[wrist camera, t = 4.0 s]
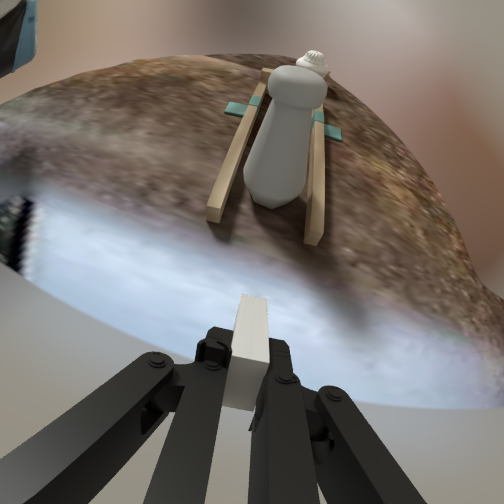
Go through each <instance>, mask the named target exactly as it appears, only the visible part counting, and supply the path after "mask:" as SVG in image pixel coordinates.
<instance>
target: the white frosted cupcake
mask: <svg viewBox="0 0 504 504" xmlns="http://www.w3.org/2000/svg"><path fill="white" fill-rule="evenodd" d="M296 65H297V66H298V67H302V68H306V69H308V70H311V71H313V72H315V73H317V74H319V75H320V76H322V78H324V77H325V76H326V74H327V73H328V72H329V69H328V66H327V65H326V63H325V57H324V55H323V54H322V53H320V52H318V51H308V52H307V53H306V55H305V56H303V57H302V58H300V59H298V60H297V61H296Z"/></svg>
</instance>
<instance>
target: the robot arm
mask: <svg viewBox="0 0 504 504" xmlns="http://www.w3.org/2000/svg"><path fill="white" fill-rule="evenodd" d="M36 50H37V0H0V78H2V77H4V76H5V75H7V74H9V73H13V72H14V71H15V70H16V69H18V68H20V67H21V66H23V65H25V64H27V63H29V62H30V61H31V60H32V59H33V58H34V56H35V54H36ZM255 405H256V408H255V414H254V417H253V420H252V423H251V425H250V428H249V430H248V431H251V430H252V437H251V455H250V456H251V457H250V472H249V490H248V504H320V500H319V494H318V486H317V483H318V485H319V487H320V489H321V491H322V493H323V496H324V497H325V500H326V502H327V504H427V503H426V502H425V501H424V499H423V498H422V497H421V495H420V494H419V492H418V491H417V489H416V488H415V487H414V485H413V484H412V483H411V481H410V480H409V478H408V477H407V476H406V474H405V473H404V472H403V470H402V469H401V467H400V466H399V465H398V463H397V462H396V461H395V459H394V458H393V456H392V455H391V454H390V452H389V451H388V449H387V448H386V447H385V445H384V444H383V443H382V441H381V440H380V439H379V437H378V436H377V434H376V433H375V432H374V430H373V429H372V427H371V426H370V425H369V424H368V422H367V420H366V419H365V418H364V416H363V415H362V413H361V412H360V411H359V409H358V408H357V406H356V405H355V404H354V402H353V401H352V399H351V398H350V397H349V395H348V394H347V393H346V392H345V391H344V390H342V389H340V388H338V387H335V386H328V385H327V386H323V387H321V388H320V389H319V391H318V392H316V391H313V390H310V389H308V388H305V387H303V386H302V385H301V383H300V380H299V378H298V377H297V376H296V375H295V374H294V373H293V368H292V362H291V355H290V349H289V346H288V345H287V343H286V342H285V341H284V340H279V339H273V338H269V336H268V313H267V299H264V298H259V297H254V296H250V295H246V294H242V295H241V299H240V303H239V308H238V312H237V316H236V321H235V325H234V329H233V331H232V330H227V329H223V328H219V327H215V326H214V327H213V328H211V329H210V330H208V333H207V335H206V338H205V339H203V340H200V341H199V342H198V344H197V350H196V356H195V361H194V362H193V363H190V364H174V361H173V360H172V359H171V358H170V357H169V356H168V355H166V354H163V353H160V352H147V353H145V354H143V355H141V356H140V357H138V358H137V359H136V360H135V361H133V362H132V363H131V364H129V365H128V366H127V367H125V368H124V369H123V370H121V371H120V372H119V373H117V374H116V375H115V376H113V377H112V378H111V379H109V380H108V381H107V382H106V383H104V384H103V385H101V386H100V387H99V388H98V389H96V390H95V391H93V392H92V393H91V394H89V395H88V396H87V397H85V398H84V399H83V400H81V401H80V402H79V403H77V404H76V405H75V406H73V407H72V408H71V409H69V410H68V411H66V412H65V413H64V414H62V415H61V416H60V417H58V418H57V419H56V420H54V421H53V422H52V423H50V424H49V425H47V426H46V427H45V428H43V429H42V430H41V431H39V432H38V433H36V434H35V435H34V436H33V437H31V438H30V439H28V440H27V441H25V442H24V443H22V444H21V445H20V446H18V447H17V448H16V449H14V450H13V451H12V452H10V453H8V454H7V455H6V456H4V457H3V458H1V459H0V504H88V503H89V502H90V501H91V500H92V499H93V498H94V497H95V496H96V495H97V494H98V493H99V492H100V491H101V490H102V489H103V487H104V486H105V485H106V484H107V483H108V482H109V481H110V480H111V479H112V478H113V477H114V476H115V475H116V474H117V472H118V471H119V470H120V469H121V468H122V467H123V466H124V465H125V464H126V463H127V461H128V460H129V459H130V458H131V457H132V456H133V455H134V454H135V453H136V451H137V450H138V449H139V448H140V447H141V446H142V445H143V444H144V442H145V441H146V440H147V439H148V438H149V437H150V435H151V434H152V433H153V432H154V431H155V430H156V429H157V427H158V426H159V425H160V424H161V423H162V422H163V420H164V419H165V418H166V417H167V416H168V414H169V412H175V415H174V418H173V421H172V423H171V426H170V429H169V431H168V434H167V437H166V440H165V443H164V445H163V448H162V451H161V454H160V456H159V459H158V462H157V465H156V468H155V470H154V473H153V476H152V479H151V482H150V485H149V488H148V490H147V493H146V496H145V499H144V502H143V504H204V502H205V496H206V491H207V485H208V480H209V474H210V468H211V463H212V457H213V452H214V446H215V441H216V435H217V429H218V424H219V418H220V412H221V407H222V406H226V407H231V408H237V409H242V410H247V411H253V410H254V407H255Z"/></svg>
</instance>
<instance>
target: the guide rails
mask: <svg viewBox="0 0 504 504" xmlns="http://www.w3.org/2000/svg"><path fill="white" fill-rule="evenodd" d="M272 71H274V70H272V69H267V68H263V69H262V72H261V77H260V82H259V84H258V86H257V88H256V90H255V92H254V95H253V96H252V98H251V100H250V102H249V104H248V105H244V104H239V103H233V102H230V103H229V105H228V106H227V108H226V110H225V112H224V113H227V114H233V115H238V116H243V119H242V121H241V123H240V125H239V128H238V130H237V132H236V134H235V137H234V139H233V141H232V144H231V146H230V148H229V151H228V153H227V156H226V158H225V160H224V163H223V165H222V168H221V170H220V172H219V175H218V177H217V180H216V182H215V185H214V187H213V190H212V192H211V195H210V198H209V200H208V203H207V205H206V221H211V222H215V223H220V220H221V217H222V214H223V211H224V207H225V204H226V201H227V198H228V195H229V193H230V190H231V187H232V184H233V181H234V178H235V175H236V172H237V169H238V166H239V163H240V161H241V158H242V155H243V152H244V149H245V147H246V144H247V141H248V138H249V135H250V133H251V130H252V127H253V125H254V122H255V119H256V118H257V115H258V112H259V109H260V106H261V103H262V101H263V98H264V95H265V94H269V92H268V79H269V77H270V75H271V72H272ZM324 136H326V137H329V138H332V139H335V140H339V141H341V140H342V138H341V130H340V128H336V127H333V126H330V125H327V124H324V112H323V103H322V105H321V106H320V107H319V108H317V109H313V110H312V117H311V143H310V162H309V179H308V194H307V207H306V220H305V231H304V242H303V243H305V244H309V245H313V246H317V244H318V242H319V240H320V239H321V237H322V235H323V234H324V203H325V153H324Z"/></svg>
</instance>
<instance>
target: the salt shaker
mask: <svg viewBox="0 0 504 504" xmlns="http://www.w3.org/2000/svg"><path fill="white" fill-rule="evenodd" d="M327 88H328V85H327V84H326V82H325V81H324V79H323V78H322V76H320V75H319V74H317V73H315V72H313V71H311V70H308V69H306V68H302V67H298V66H288V65H287V66H280V67H278V68H277V69H275V70H274V71H272V72H271V75H270V77H269V79H268V92H269V95H270V96H271V97H272V101H271V103H270V105H269V108H268V110H267V113H266V115H265V117H264V120H263V122H262V124H261V127H260V129H259V132H258V134H257V136H256V139H255V141H254V144H253V146H252V149H251V151H250V154H249V156H248V159H247V161H246V164H245V166H244V169H243V173H244V183H245V185H246V187H247V188H248V190H249V192H250V194H251V196H252V198H253V201H254V202H255V203H257V204H260V205H262V206H265V207H267V208H270V209H274V208H277V207H280V206H283V205H286V204H288V203H289V202H291V201H292V200H293V199H295V198H296V197H297V196H299V195H300V193H301V192H302V190H303V187H304V184H305V179H306V170H307V160H308V150H309V139H310V127H311V116H312V110H313V109H317V108H319V107H320V106H321V105H322V103H323V101H324V99H325V97H326V94H327Z"/></svg>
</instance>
